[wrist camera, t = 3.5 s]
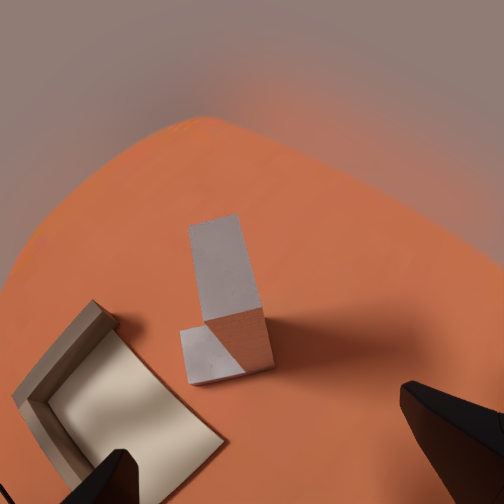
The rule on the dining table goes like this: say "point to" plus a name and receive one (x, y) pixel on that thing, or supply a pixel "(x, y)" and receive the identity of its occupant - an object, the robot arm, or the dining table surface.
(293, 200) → the dining table surface
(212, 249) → the bracket
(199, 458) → the corner fixture
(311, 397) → the dining table surface
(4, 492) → the coffee mug
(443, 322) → the dining table surface
